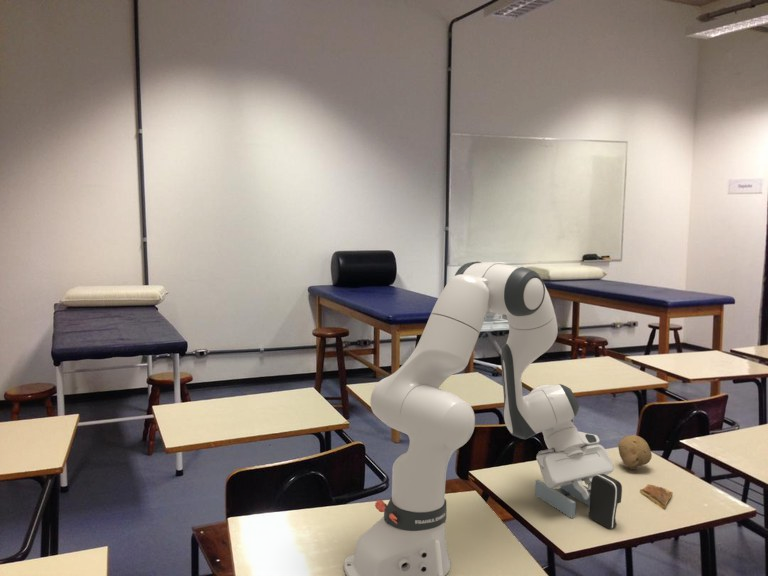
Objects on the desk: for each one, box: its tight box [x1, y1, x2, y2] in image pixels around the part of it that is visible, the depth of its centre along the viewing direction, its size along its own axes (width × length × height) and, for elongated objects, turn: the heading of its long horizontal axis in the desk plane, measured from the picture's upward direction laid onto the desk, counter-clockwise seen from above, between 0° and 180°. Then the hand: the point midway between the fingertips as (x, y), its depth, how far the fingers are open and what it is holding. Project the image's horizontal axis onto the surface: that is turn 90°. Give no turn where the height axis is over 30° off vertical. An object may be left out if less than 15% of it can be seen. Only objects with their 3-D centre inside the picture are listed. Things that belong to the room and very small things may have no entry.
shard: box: [639, 484, 673, 510], centre depth 168 cm, size 11×8×2 cm
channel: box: [534, 479, 590, 519], centre depth 164 cm, size 10×14×4 cm
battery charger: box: [588, 474, 623, 529], centre depth 153 cm, size 7×4×11 cm, turn 31°
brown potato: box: [617, 434, 653, 470], centre depth 186 cm, size 9×9×10 cm
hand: (591, 497), depth 156 cm, fingers closed, pressing on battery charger
